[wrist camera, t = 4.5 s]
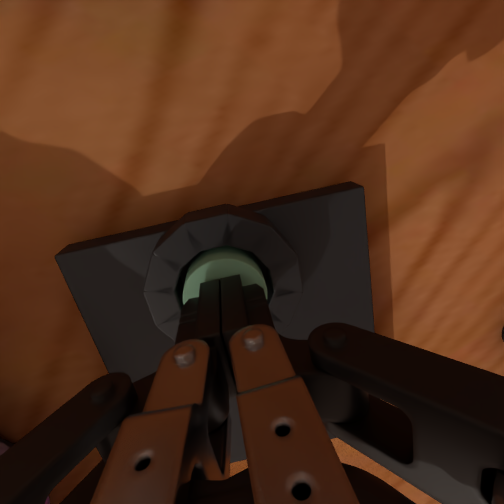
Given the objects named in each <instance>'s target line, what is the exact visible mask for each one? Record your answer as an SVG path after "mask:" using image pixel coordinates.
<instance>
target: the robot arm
mask: <svg viewBox="0 0 504 504" xmlns="http://www.w3.org/2000/svg"><path fill="white" fill-rule="evenodd" d="M368 393H369V394H368ZM370 394H371V395H370ZM372 395H373V396H372ZM235 397H236V400H237V406H238V411H239V417H240V423H241V429H242V435H243V440H244V446H245V452H246V458H247V464H248V468H247V469H245V470H243V471H241V472H239V473H237V474H235V475H234V476H232V477H230V454H231V425H232V422H231V417H230V413H229V408H230V406H229V399H230V398H235ZM379 398H380V399H379ZM381 399H382V400H381ZM383 400H384V401H383ZM385 401H386V402H385ZM387 402H388V403H387ZM389 403H390V404H389ZM391 404H392V405H391ZM393 405H394V406H393ZM395 406H396V407H395ZM397 407H398V408H397ZM326 430H327V431H328V432H330V433H331V434H333V435H334V436H336V437H337V438H339V439H340V440H342V441H344V442H345V443H347V444H348V445H350V446H352V447H353V448H355V449H356V450H358V451H359V452H361V453H363V454H364V455H366V456H367V457H369V458H370V459H372V460H374V461H375V462H377V463H378V464H380V465H382V466H383V467H385V468H386V469H388V470H389V471H391V472H393V473H394V474H396V475H397V476H399V477H400V478H402V479H404V480H405V481H407V482H408V483H410V484H412V485H413V486H415V487H416V488H418V489H419V490H421V491H423V492H424V493H426V494H427V495H429V496H430V497H432V498H434V499H435V500H437V501H438V502H440V503H442V504H504V376H501V375H498V374H495V373H492V372H489V371H486V370H483V369H480V368H477V367H474V366H471V365H468V364H465V363H462V362H459V361H456V360H453V359H450V358H447V357H444V356H441V355H439V354H436V353H433V352H430V351H427V350H424V349H421V348H418V347H415V346H412V345H409V344H406V343H403V342H400V341H397V340H394V339H391V338H388V337H385V336H382V335H379V334H376V333H373V332H370V331H367V330H364V329H361V328H358V327H355V326H352V325H350V324H346V323H339V322H334V323H327V324H323V325H320V326H318V327H316V328H315V329H314V330H313V331H312V332H311V333H310V334H309V337H308V340H296V339H290V338H286V337H284V336H282V335H280V334H279V333H278V332H277V331H276V329H275V327H274V324H273V320H272V317H271V313H270V310H269V306H268V303H267V299H266V296H265V293H264V289H263V288H262V287H260V286H259V285H258V284H256V283H255V284H251V285H247V286H242V281H241V277H240V274H238V275H233V276H229V277H225V278H221V281H220V279H216V280H212V281H207V282H203V283H200V289H199V297H195V298H191V299H188V301H187V302H186V303H185V304H184V306H183V307H182V310H181V315H180V320H179V325H178V331H177V336H176V341H175V345H174V346H172V347H171V348H169V349H168V350H167V351H166V352H165V353H164V354H163V356H162V357H161V360H160V363H159V365H158V368H157V371H156V372H154V373H152V374H150V375H148V376H146V377H144V378H142V379H140V380H138V381H135V382H133V383H132V381H131V378H130V376H129V375H128V374H126V373H123V372H115V373H110V374H107V375H104V376H102V377H100V378H98V379H96V380H94V381H93V382H91V383H90V384H89V385H87V386H86V387H85V388H84V389H82V390H81V391H80V392H79V393H78V394H76V395H75V396H74V397H73V398H71V399H70V400H69V401H68V402H66V403H65V404H64V405H63V406H61V407H60V408H59V409H58V410H56V411H55V412H54V413H53V414H51V415H50V416H49V417H48V418H46V419H45V420H44V421H43V422H41V423H40V424H39V425H38V426H36V427H35V428H34V429H33V430H31V431H30V432H29V433H28V434H27V435H25V436H24V437H23V438H22V439H20V440H19V441H18V442H17V443H15V444H14V445H13V446H12V447H10V448H9V449H8V450H7V451H5V452H4V453H3V454H2V455H0V504H45V502H46V499H47V497H48V495H49V494H50V492H51V491H52V489H53V488H54V487H55V486H56V485H57V484H58V483H59V482H60V481H61V480H62V479H63V478H64V477H65V476H66V475H67V474H68V473H69V472H70V471H71V470H72V469H73V468H74V467H75V466H76V465H77V464H78V463H79V462H80V461H81V460H82V459H84V458H85V457H86V456H87V455H88V454H89V453H90V452H91V451H92V450H93V449H94V448H95V447H96V448H97V450H98V451H99V453H100V455H101V457H102V461H101V462H100V463H99V464H98V465H97V466H96V467H95V468H94V469H93V470H92V471H91V472H90V473H89V474H88V475H87V476H86V477H85V478H84V479H83V480H82V481H81V482H80V483H79V484H78V485H77V486H76V487H75V488H74V489H73V490H72V491H71V492H70V494H69V495H68V496H67V497H66V498H65V499H64V500H63V501H62V502H61V503H60V504H416V503H414V502H413V501H411V500H410V499H408V498H407V497H406V496H404V495H403V494H401V493H400V492H399V491H397V490H396V489H394V488H393V487H392V486H390V485H389V484H387V483H386V482H384V481H383V480H381V479H380V478H378V477H376V476H374V475H372V474H370V473H369V472H367V471H364V470H362V469H360V468H357V467H355V466H351V465H348V464H344V463H341V462H340V459H339V457H338V455H337V453H336V451H335V448H334V446H333V444H332V442H331V440H330V437H329V435H328V433H327V431H326Z"/></svg>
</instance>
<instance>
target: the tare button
mask: <svg viewBox="0 0 504 504" xmlns="http://www.w3.org/2000/svg"><path fill="white" fill-rule="evenodd" d="M238 274H240V277H241V281H242V286H247V285H251V284H255V283H256V284H258V285H259V286H260V287H262V288H263V289H264V293H265V296H266V299H267V287H266V283H265V280H264V277H263V274H262V271H261V267H260V265H259V263H258V261H257V259H256V258H255V257H254V255H253V254H252V253H251V252H249V251H246V250H242V249H239V248H235V247H231V246H228V245H226V246H222V247H217V248H213V249H209V250H204V251H200V252H199V253H198V254H197V255H196V256H195V257H194V258H193V259H192V261H191V262H190V264H189V267H188V270H187V274H186V279H185V284H184V289H183V304H185V303H186V302H187V301H188V299H191V298H195V297H199V289H200V283H203V282H207V281H212V280H216V279H220V281H221V278H225V277H229V276H233V275H238Z"/></svg>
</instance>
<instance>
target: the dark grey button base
mask: <svg viewBox="0 0 504 504" xmlns="http://www.w3.org/2000/svg"><path fill="white" fill-rule="evenodd" d="M226 245H228V246H231V247H235V248H239V249H242V250H246V251H249V252H251V253H252V254H253V255H254V257H255V258H256V259H257V261H258V263H259V265H260V267H261V271H262V274H263V277H264V280H265V283H266V287H267V303H268V306H269V310H270V313H271V317H272V320H273V324H274V327H275V329H276V331H277V332H278V333H279V334H280V335H282V336H284V337H286V338H290V339H296V340H308V337H309V334H310V333H311V332H312V331H313V330H314V329H315V328H316V327H318V326H320V325H323V324H327V323H334V322H339V323H346V324H350V325H352V326H355V327H358V328H361V329H364V330H367V331H370V332H373V333H375V331H374V318H373V304H372V291H371V277H370V263H369V250H368V236H367V223H366V209H365V196H364V187H363V186H361V185H359V184H356V183H354V182H351V181H350V182H346V183H341V184H337V185H332V186H328V187H323V188H319V189H315V190H310V191H306V192H301V193H297V194H292V195H288V196H283V197H279V198H274V199H270V200H266V201H261V202H257V203H252V204H248V205H243V206H239V207H236V206H233V205H230V204H223V205H219V206H214V207H210V208H205V209H201V210H196V211H192V212H188V213H186V214H185V215H184V216H183V217H182V218H181V219H180V220H176V221H172V222H167V223H163V224H159V225H154V226H150V227H145V228H141V229H136V230H132V231H127V232H123V233H118V234H114V235H110V236H105V237H101V238H96V239H92V240H87V241H83V242H78V243H74V244H69V245H68V246H66V247H65V248H64V249H63V250H61V251H60V252H59V253H58V254H56V255H55V259H56V261H57V264H58V266H59V268H60V270H61V272H62V274H63V276H64V279H65V281H66V283H67V285H68V287H69V289H70V291H71V294H72V296H73V298H74V300H75V302H76V304H77V306H78V309H79V311H80V313H81V315H82V317H83V319H84V321H85V324H86V326H87V328H88V330H89V332H90V334H91V336H92V338H93V341H94V343H95V345H96V347H97V349H98V351H99V353H100V356H101V358H102V360H103V362H104V364H105V366H106V368H107V371H108V373H109V374H110V373H115V372H123V373H126V374H128V375H129V376H130V378H131V381H132V383H133V382H135V381H138V380H140V379H142V378H144V377H146V376H148V375H150V374H152V373H154V372H156V371H157V368H158V365H159V363H160V360H161V357H162V356H163V354H164V353H165V352H166V351H167V350H168V349H169V348H171V347H172V346H174V345H175V341H176V336H177V331H178V325H179V320H180V315H181V310H182V307H183V306H184V304H183V289H184V284H185V279H186V274H187V270H188V267H189V264H190V262H191V261H192V259H193V258H194V257H195V256H196V255H197V254H198V253H199V252H200V251H204V250H209V249H213V248H217V247H222V246H226ZM368 394H369V393H368ZM370 395H371V394H370ZM372 396H373V395H372ZM229 406H230V408H229V413H230V417H231V422H232V425H231V454H230V463H233V462H237V461H241V460H245V459H247V458H246V452H245V446H244V440H243V435H242V429H241V423H240V417H239V411H238V406H237V400H236V397H235V398H230V399H229ZM326 431H327V430H326ZM327 433H328V435H329V437H330V439H333V438H337V437H336V436H334V435H333V434H331V433H330V432H328V431H327Z"/></svg>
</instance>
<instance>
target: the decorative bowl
mask: <svg viewBox="0 0 504 504" xmlns="http://www.w3.org/2000/svg"><path fill="white" fill-rule="evenodd" d="M13 445H14V444H12V443H10V442H8V441H6V440H4V439H2V438H0V455H2V454H3V453H4V452H5V451H7V450H8V449H9V448H10V447H12V446H13ZM45 504H50V500H49V496H48V497H47V499H46V502H45Z"/></svg>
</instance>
